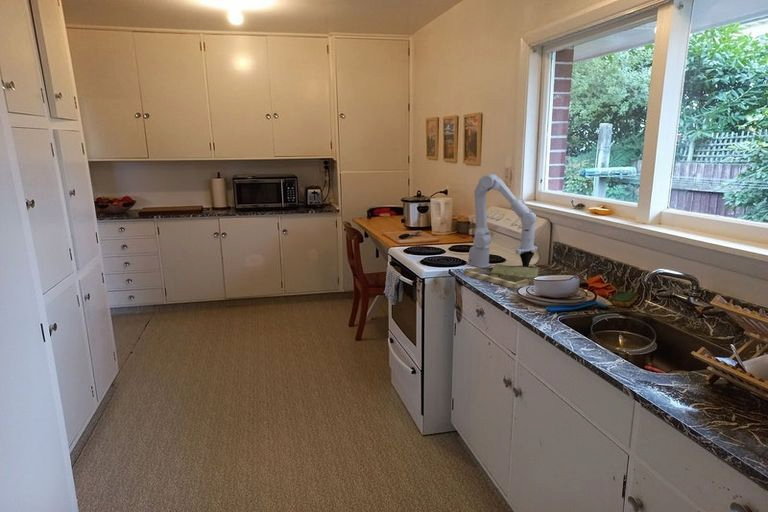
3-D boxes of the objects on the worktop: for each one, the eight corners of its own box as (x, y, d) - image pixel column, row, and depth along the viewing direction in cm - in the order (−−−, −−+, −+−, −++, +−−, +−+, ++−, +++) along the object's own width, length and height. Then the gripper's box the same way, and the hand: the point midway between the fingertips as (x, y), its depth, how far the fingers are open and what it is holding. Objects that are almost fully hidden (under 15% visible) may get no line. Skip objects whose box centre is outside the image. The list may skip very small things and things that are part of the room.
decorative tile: (494, 270, 225) (494, 262, 224) (538, 274, 218) (539, 266, 217) (488, 280, 208) (488, 272, 207) (535, 285, 201) (536, 277, 200)
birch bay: (463, 274, 214) (464, 270, 214) (478, 271, 220) (478, 267, 220) (514, 288, 194) (514, 284, 194) (528, 284, 200) (528, 279, 200)
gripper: (525, 241, 210) (523, 271, 213) (544, 238, 219) (541, 266, 222) (512, 239, 215) (510, 268, 218) (530, 235, 224) (528, 263, 228)
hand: (525, 267), depth 221 cm, fingers closed
